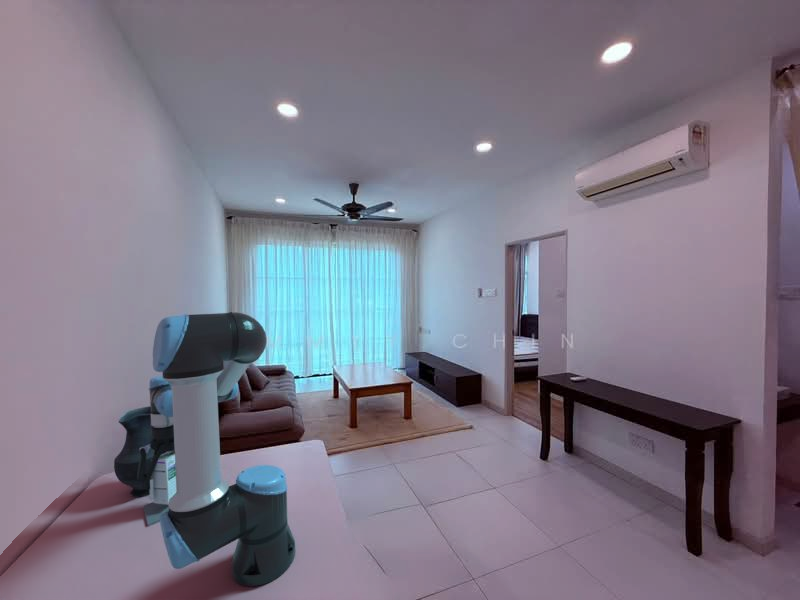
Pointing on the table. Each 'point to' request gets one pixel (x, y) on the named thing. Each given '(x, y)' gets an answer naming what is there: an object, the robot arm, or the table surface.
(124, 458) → the pitcher
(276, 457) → the table surface
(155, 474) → the syrup box
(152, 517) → the mat
